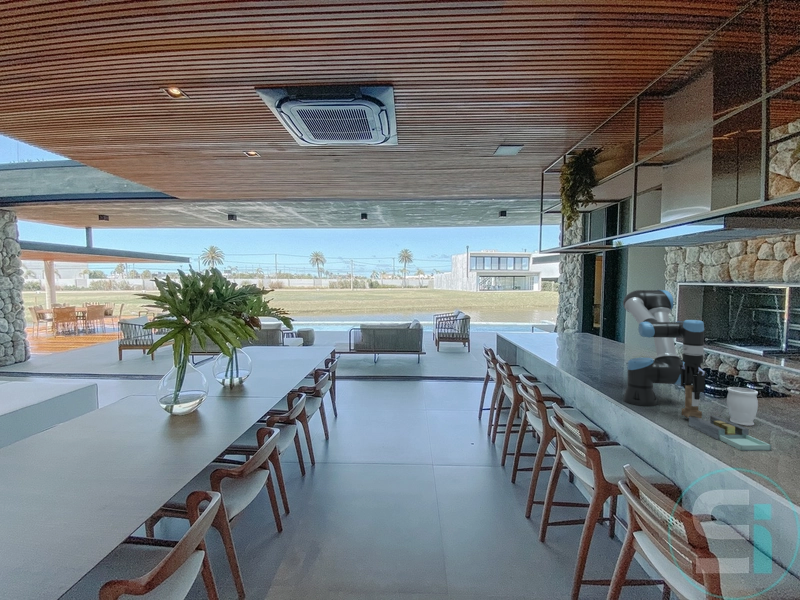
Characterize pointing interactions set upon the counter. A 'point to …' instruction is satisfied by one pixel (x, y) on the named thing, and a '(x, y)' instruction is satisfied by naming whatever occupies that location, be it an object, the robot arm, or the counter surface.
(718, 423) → the chip
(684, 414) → the stepped wooden block
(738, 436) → the slot board
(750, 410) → the jar
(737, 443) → the tray
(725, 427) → the yellow sponge cube
